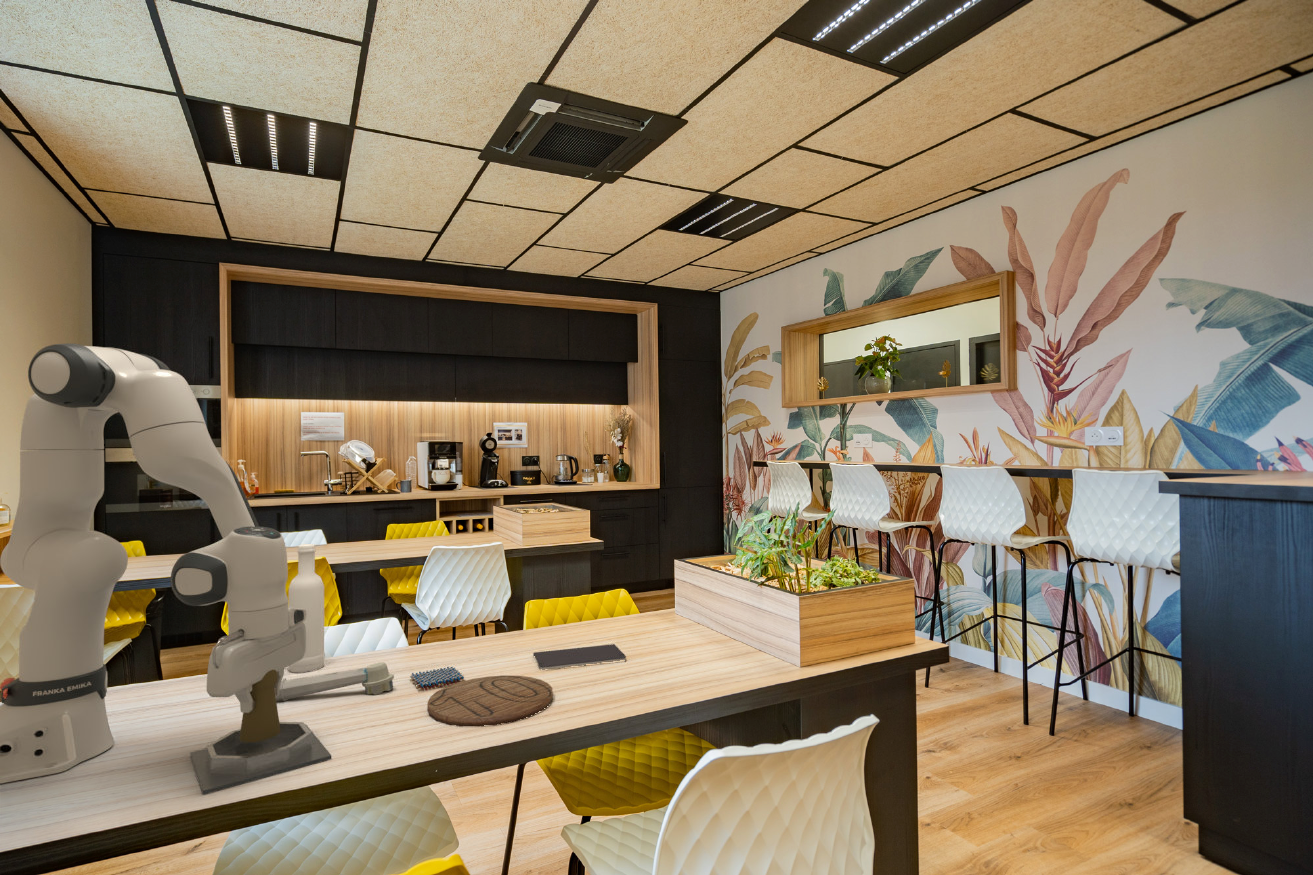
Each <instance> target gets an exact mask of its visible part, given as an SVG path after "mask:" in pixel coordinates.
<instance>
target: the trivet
mask: <svg viewBox="0 0 1313 875" xmlns="http://www.w3.org/2000/svg"><path fill="white" fill-rule="evenodd" d="M465 680H466V679H465ZM553 695H554V692H553V687H552V686H551V685H550V684H549V682H547V681H544V680H542V679H540V678H535V677H533V676H532V677H531V676H524V675H492V676H484V677H478V678H471V679H467V680H466V681H462V682H458V683H455V684H454V683H453V684H452V685H449V686H446V687H442V688H441V689H439V690H437V691H436V692H434V693H433V694H432V695H430V697H429V699H428V700H427V713H428V715H429V717H430V718H432V719H433V720H435V722H438V723H442V724H445V725H449V726H454V725H456V727H463V726H481V727H485V726H484V725H493V726H498V725H497V724H500V725H502V724H501V723H506V724H510V723H509V722H511V723H515V722H519V721H521V720H520V719H522V720H525V719H527V718H526V717H529V718H530V716H531V715H533V716H535V715H536V714H535V713H538V712H539V711H542V710H543V711H544V710H545V709H544V708H546V709H548V707H547V706H549V707H550V705H551V704H552V702H553V701H552V700H554V699H553ZM550 703H551V704H550ZM549 704H550V705H549ZM543 711H542V712H543ZM534 714H535V715H534ZM538 714H539V713H538ZM531 717H532V716H531ZM524 718H525V719H524ZM518 720H519V721H518ZM514 721H515V722H514Z"/></svg>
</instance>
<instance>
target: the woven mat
mask: <svg viewBox="0 0 1313 875" xmlns="http://www.w3.org/2000/svg"><path fill="white" fill-rule="evenodd" d="M409 678H411V679H409V681H411V684H413V685H414V686H415V688H416V689H417V691H418V692H424V690H425V691H430V690H435V689H439V688H441V689H442V688H445V687H447V686H449V685H452V684H455V683H458V682H462V681H466V679H464V678H465V675H464V674H462V673H461V671H459V669H456V667H453V666H450V667H449V666H447V667H444V668H442V667H441V668H439V669H433V670H432V669H431V670H429V671H428V670H426V671H422V672H421V671H419V672H416V673H415V674H414V672H412V673H411V675H409ZM416 685H417V686H416Z"/></svg>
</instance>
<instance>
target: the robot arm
mask: <svg viewBox="0 0 1313 875" xmlns="http://www.w3.org/2000/svg"><path fill="white" fill-rule="evenodd" d="M27 371H28V372H27V378H28V382H29V386H30V388H31V389H32V392H34V394H32V395H31V396H30V397H29V398H28V400H27V403H26V407H25V410H24V414H23V418H22V424H21V430H20V431H21V432H20V439H19V440H20V441H19V442H20V443H19V444H20V445H19V448H20V449H19V461H20V462H19V498H18V502H17V503H18V504H17V508H16V511H15V512H16V514H15V515H14V516H15V517H14V519H13V524H12V528H11V532H10V537H9V541H8V543H7V545H6V546H4V548H3V550H2V552H1V555H0V568H1V571H2V572H3V574H4V575H5V576H6V577H7V578H9V580H11V581H12V582H13V583H15V584H16V585H18V586H19V587H22V588H24V589H28V590H34V598H33V602H32V606H31V609H30V613H29V616H28V618H27V621H26V623H25V625H24V626H23V627H22V628H21V630H20V632H19V636H18V637H19V639H18V641H19V643H18V645H19V646H18V677H17V678H16V679H15V677H7V678H5V679H3V681H2V682H1V684H0V691H1V692H0V693H1V694H0V696H1V698H0V699H1V705H0V784H6V783H10V782H15V781H20V780H26V779H27V780H28V779H31V778H37V777H42V776H48V775H53V774H59V773H62V772H65V771H67V770H69V769H71V768H73V767H74V766H76V765H78V764H80V763H81V762H84V761H86V760H90V759H92V758H93V757H96V756H99V755H100V754H102V753H104V752H105V751H107V750H109V749H110V748H111V747H112V746H114V744H115V739H114V737H113V734H112V730H111V728H110V724H109V719H108V715H107V709H106V708H107V707H106V701H105V697H106V696H107V692H108V671H107V665H106V664H105V663H104V652H105V650H104V649H105V648H104V646H105V645H104V644H105V622H106V616H107V614H108V613H107V612H108V609H109V608H108V607H109V605H110V601H111V599H112V595H113V591H114V588H115V585H116V584H117V583H118V582H119V580H121V578H122V577H123V575H124V574H125V572H126V570H127V567H128V564H129V563H128V561H129V557H128V556H129V555H128V552H127V550H126V549H125V546H124V545H123V544H122V543H121V542H119V541H118V540H117V539H115V538H113V537H112V536H110V535H107V534H105V533H103V532H100V531H97V530H90V529H91V528H90V527H91V524H92V519H93V516H94V513H95V509H96V506H97V504H98V502H99V501H100V500H101V499H102V497H103V495H104V492H105V450H104V449H105V446H104V444H105V440H104V428H105V424H106V422H107V421H108V419H109V418H111V417H112V416H113V415H115V414H116V415H117V416H119V417H121V418H123V422H124V423H125V426H126V427H125V428H126V431H127V434H128V438H129V442H130V445H131V446H130V447H131V449H132V453H133V455H134V458H135V460H136V463H137V464H138V465H139V467H140V468H141V470H142V471H143V472H144V473H145V474H146V475H147V476H149V477H151V478H152V479H154V480H156V481H159V482H160V483H163V484H165V485H170V486H173V487H177V488H180V489H183V490H186V491H188V492H190V493H192V494H194V495H196V496H197V497H199V498H200V499H201V500H202V501H203V502H204V503H205V505H207V506H208V509H209V511H210V512H211V516H212V518H213V519H214V522H215V524H216V526H217V528H218V531H219V533H220V535H221V537H222V538H221V539H220V540H218V541H217V542H214V543H212V544H210V545H207V546H204V547H201V548H198V549H195V550H191V551H189V552H187V553H184V554H183V555H181V556H180V557H179V558H178V559H177V560H176V562H175V563H174V565H173V567H172V570H171V572H170V585H171V590H172V591H173V594H174V595H175V597H176V598H177V599H178V600H179V601H180V602H182V603H183V604H185V605H187V606H192V607H197V606H198V607H199V606H201V607H202V606H209V605H212V604H216V603H218V602H225V603H227V606H228V607H227V611H228V612H227V616H228V617H227V618H228V619H227V621H228V624H227V625H228V626H227V628H228V635H223V636H222V637H220V638H219V639H218V641H217V642H216V643H215V645H214V646H213V647H212V650H211V653H210V656H209V658H208V659H209V660H208V666H207V675H206V693H207V694H208V695H209V697H210V698H230V697H232V696H234V697H235V698H236V699H237V701H238V702H239V707H240V712H241V713H242V714H243V713H249V712H251V711H252V710H254V709H255V708H256V699H252V697H251V694H250V692H251V691H252V685H253V684H255V683H257V682H259V681H261V680H262V679H263V677H264V675H265V674H266V673H267V672H269V671H271V670H276V672H277V674H278V680H277V683H276V685H275V686H274V690H275V696H276V697H277V696H278V695H279V686H280V684H281V681H282V680H283V679H284V678H283V677H284V675H285V668H287V667H288V668H289V665H291V664H293V663H295V662H297V661H299V660H301V659H302V658H303V656H304V654H305V651H306V627H305V624H304V623H303V621H305V619H306V610H305V609H301V608H292V607H289V596H288V595H287V591H286V584H287V581H288V575H289V574H288V573H289V571H288V567H289V566H288V565H289V564H288V554H287V553H288V552H287V546H286V543H285V539H284V537H283V535H282V533H281V532H280V531H278V530H276V529H275V528H271V527H268V526H267V527H266V526H260V525H259V522H258V521H257V518H256V515H254V511H253V509H252V508H251V507H252V506H251V505H250V503H249V501H248V498H247V495H246V493H245V491H244V490H243V487H242V485H241V483H240V480H239V478H238V477H237V476H238V475H236V473H235V471H234V470H233V468H232V467H231V465H230V464H229V463H228V462H227V461H226V460H225V459H224V457H222V455H221V453H220V452H219V451H218V449H217V447H216V445H215V443H214V441H213V439H212V437H211V435H210V433H209V431H208V428H207V424H206V421H205V418H204V414H203V412H202V410H201V408H200V405H199V402H198V400H197V398H196V396H195V394H194V392H193V391H192V388H191V387H190V385H189V382H188V381H187V380H186V379H185V377H183V375H181V374H180V373H178V372H176V371H174V370H173V371H172V370H171V369H170V368H169V367H168V366H167V364H165V363H164V362H163V361H162V360H160V359H157V358H155V357H153V356H150V355H148V354H144V353H136V352H132V351H129V350H125V349H122V348H115V347H110V346H109V347H106V346H105V347H103V346H93V345H92V346H91V345H90V346H89V345H83V344H80V343H57V344H51V345H47V346H44V347H43V348H40V349H39V350H38V351H37V352H36V353H35V354H34V356H33V357H32V359H31V361H30V363H29V366H28V369H27Z"/></svg>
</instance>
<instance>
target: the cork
mask: <svg viewBox="0 0 1313 875" xmlns="http://www.w3.org/2000/svg"><path fill="white" fill-rule="evenodd" d="M277 680H278V674H277V672H276V670H271V671H269V672H267V673H266V674H265V675H264V677H263V679H262V680H261V681H259V682H257V683H255V684H253V685H252V691H251V692H250V694H251V697H252V699H256V708H255V709H254V710H252V711H251V712H249V713H242V717H241V718H242V719H241V724H240V729H241V731H240V738H239V739H240V741H242V742H257V741H262V740H266V739H269V738H272V737H274V736H276V735H278V734H279V733H280V731H281V729H280V723H279V722H280V718H279V709H278V704H277V702H276V696H275V690H274V686H275V685H276V683H277Z"/></svg>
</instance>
